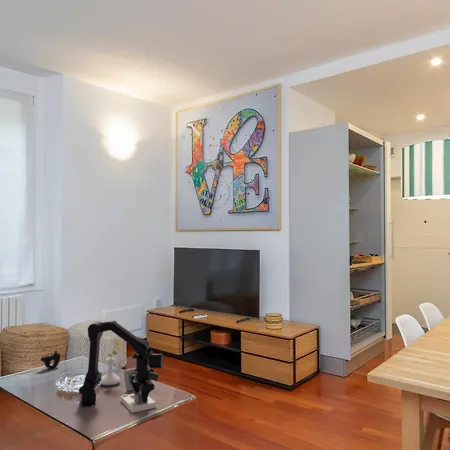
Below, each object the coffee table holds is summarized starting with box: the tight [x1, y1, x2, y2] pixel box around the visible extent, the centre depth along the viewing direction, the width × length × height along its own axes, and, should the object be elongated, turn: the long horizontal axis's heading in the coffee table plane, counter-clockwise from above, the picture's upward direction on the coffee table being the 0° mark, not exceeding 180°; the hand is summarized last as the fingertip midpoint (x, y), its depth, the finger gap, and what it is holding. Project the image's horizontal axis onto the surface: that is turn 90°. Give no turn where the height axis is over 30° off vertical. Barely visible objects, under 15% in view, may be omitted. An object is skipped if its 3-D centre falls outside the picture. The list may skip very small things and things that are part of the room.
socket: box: [120, 393, 157, 413], centre depth 206 cm, size 12×16×3 cm
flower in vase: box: [100, 337, 123, 386], centre depth 236 cm, size 13×11×25 cm
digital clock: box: [123, 366, 153, 392], centre depth 231 cm, size 16×9×11 cm, turn 122°
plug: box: [133, 392, 148, 405], centre depth 203 cm, size 5×5×7 cm
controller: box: [40, 350, 62, 370], centre depth 260 cm, size 4×12×10 cm, turn 145°
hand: (140, 399), depth 203 cm, fingers open, 9 cm apart
